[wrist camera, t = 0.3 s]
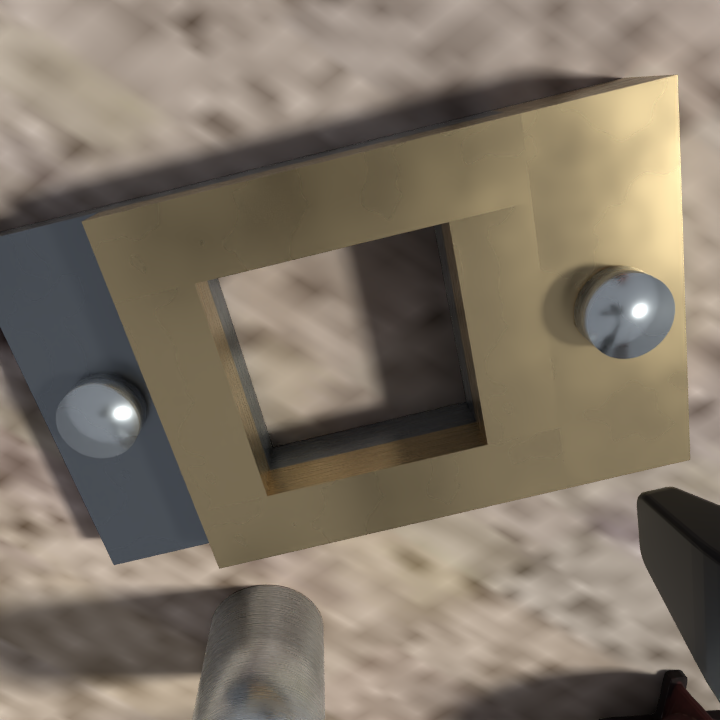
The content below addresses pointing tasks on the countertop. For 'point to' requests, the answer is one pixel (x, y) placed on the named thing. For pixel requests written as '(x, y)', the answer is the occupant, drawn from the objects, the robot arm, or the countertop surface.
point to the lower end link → (143, 382)
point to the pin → (263, 658)
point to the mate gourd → (675, 702)
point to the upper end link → (473, 305)
